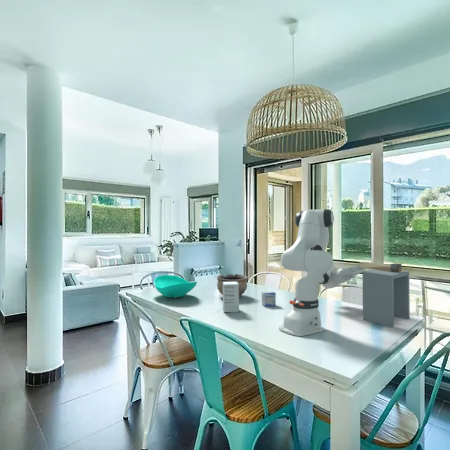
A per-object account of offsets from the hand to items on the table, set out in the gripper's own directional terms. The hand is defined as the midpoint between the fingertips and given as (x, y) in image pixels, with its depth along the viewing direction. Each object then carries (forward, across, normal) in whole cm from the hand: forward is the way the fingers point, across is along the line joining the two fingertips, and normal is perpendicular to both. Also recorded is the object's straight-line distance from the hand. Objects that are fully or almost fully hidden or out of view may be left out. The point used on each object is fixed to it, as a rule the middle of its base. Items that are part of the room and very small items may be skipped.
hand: (363, 265), depth 178 cm
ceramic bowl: (-81, -36, -15) cm, 90 cm away
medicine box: (-53, -33, +1) cm, 62 cm away
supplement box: (-59, -59, -2) cm, 83 cm away
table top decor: (-104, -68, -28) cm, 128 cm away
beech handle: (+8, -1, +6) cm, 10 cm away
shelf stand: (0, -5, +31) cm, 32 cm away
